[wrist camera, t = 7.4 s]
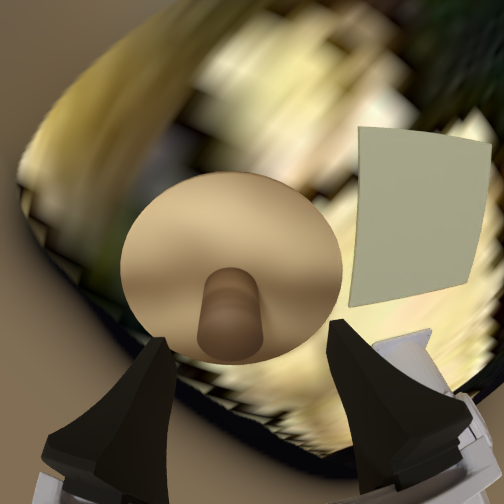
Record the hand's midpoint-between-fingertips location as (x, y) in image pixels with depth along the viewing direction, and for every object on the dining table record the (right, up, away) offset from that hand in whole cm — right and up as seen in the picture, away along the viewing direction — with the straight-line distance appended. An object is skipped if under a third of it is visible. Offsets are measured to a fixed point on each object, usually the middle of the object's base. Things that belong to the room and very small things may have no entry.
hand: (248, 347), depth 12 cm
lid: (-1, +2, +5) cm, 5 cm away
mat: (+15, +7, +9) cm, 19 cm away
